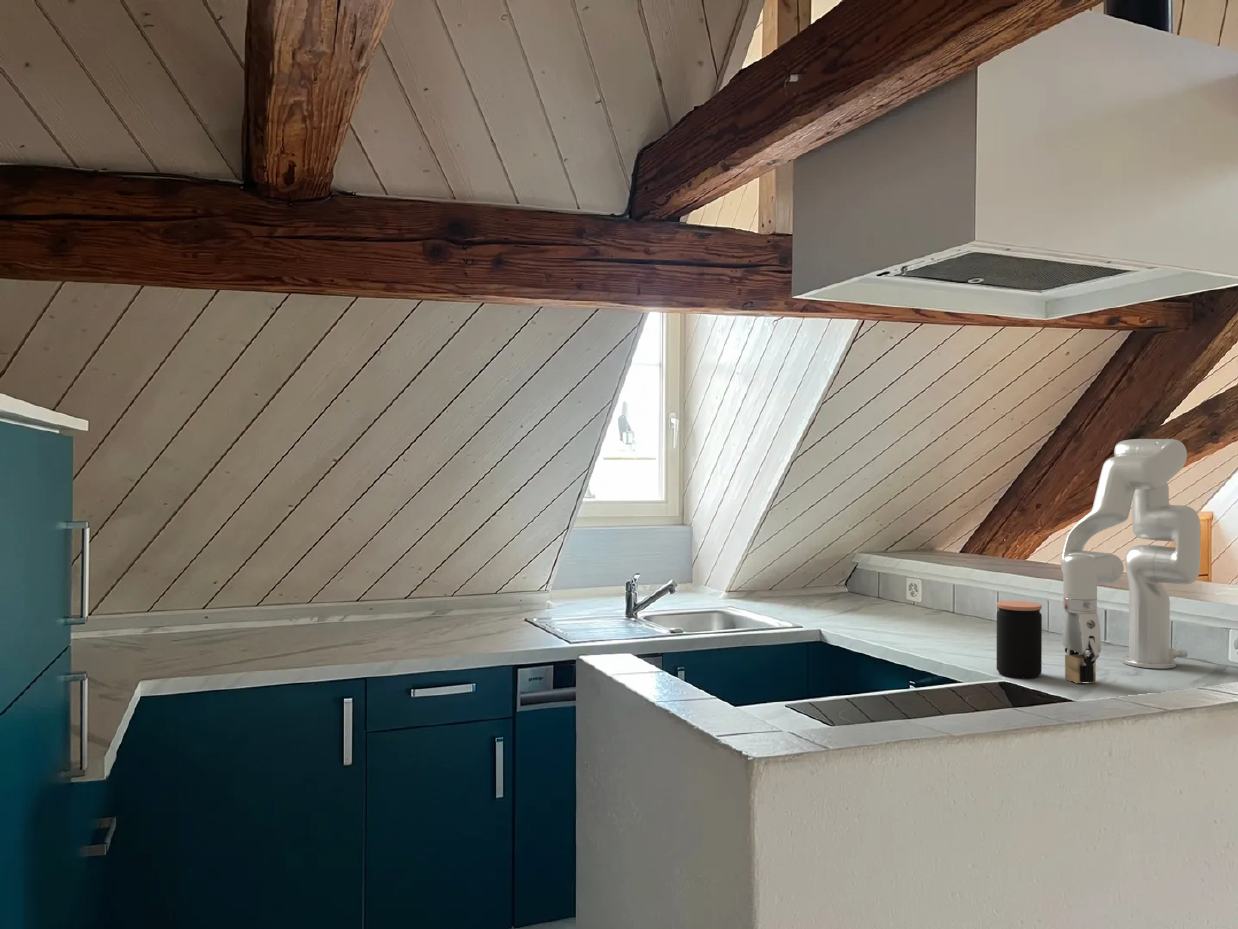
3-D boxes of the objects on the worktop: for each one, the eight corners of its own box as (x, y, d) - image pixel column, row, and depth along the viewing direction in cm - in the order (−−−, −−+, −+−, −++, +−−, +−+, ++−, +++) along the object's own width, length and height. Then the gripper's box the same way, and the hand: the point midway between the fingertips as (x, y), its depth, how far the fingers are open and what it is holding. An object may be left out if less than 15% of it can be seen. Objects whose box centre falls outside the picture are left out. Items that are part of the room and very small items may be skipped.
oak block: (1084, 678, 248) (1084, 654, 248) (1095, 683, 243) (1095, 658, 243) (1065, 679, 247) (1065, 655, 247) (1076, 683, 242) (1076, 659, 242)
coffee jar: (1030, 669, 259) (1030, 600, 258) (1049, 679, 248) (1049, 607, 248) (989, 670, 258) (989, 600, 258) (1007, 679, 248) (1007, 607, 247)
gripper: (1114, 610, 237) (1114, 686, 237) (1075, 599, 254) (1075, 670, 254) (1084, 611, 236) (1084, 687, 236) (1047, 600, 253) (1047, 671, 253)
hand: (1080, 678), depth 245 cm, fingers closed on oak block, 5 cm apart
